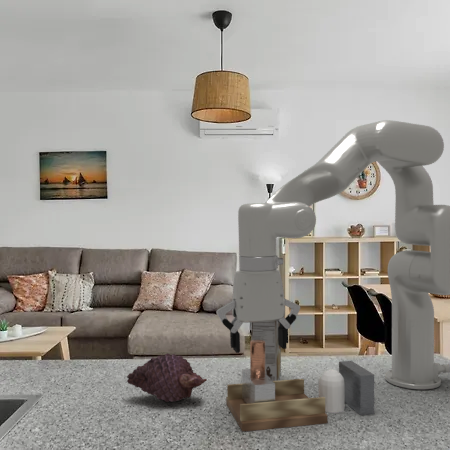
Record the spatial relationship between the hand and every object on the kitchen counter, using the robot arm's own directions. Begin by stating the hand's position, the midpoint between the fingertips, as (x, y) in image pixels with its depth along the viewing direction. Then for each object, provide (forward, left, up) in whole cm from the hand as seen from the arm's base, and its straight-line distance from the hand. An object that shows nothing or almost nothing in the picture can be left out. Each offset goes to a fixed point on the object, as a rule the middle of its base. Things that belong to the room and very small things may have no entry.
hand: (259, 349), depth 100 cm
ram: (0, 0, -11) cm, 11 cm away
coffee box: (-8, -20, -14) cm, 25 cm away
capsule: (-16, 0, -14) cm, 21 cm away
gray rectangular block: (-21, 0, -13) cm, 25 cm away
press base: (-3, 0, -13) cm, 14 cm away
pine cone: (+17, -12, -14) cm, 25 cm away
